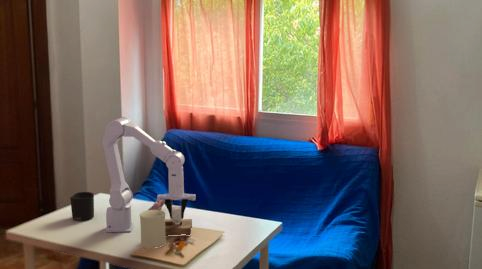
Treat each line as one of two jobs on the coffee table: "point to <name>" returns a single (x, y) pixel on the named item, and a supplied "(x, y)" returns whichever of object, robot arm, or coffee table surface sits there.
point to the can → (152, 228)
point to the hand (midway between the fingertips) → (177, 217)
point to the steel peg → (176, 214)
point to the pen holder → (82, 206)
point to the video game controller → (157, 205)
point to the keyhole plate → (178, 227)
